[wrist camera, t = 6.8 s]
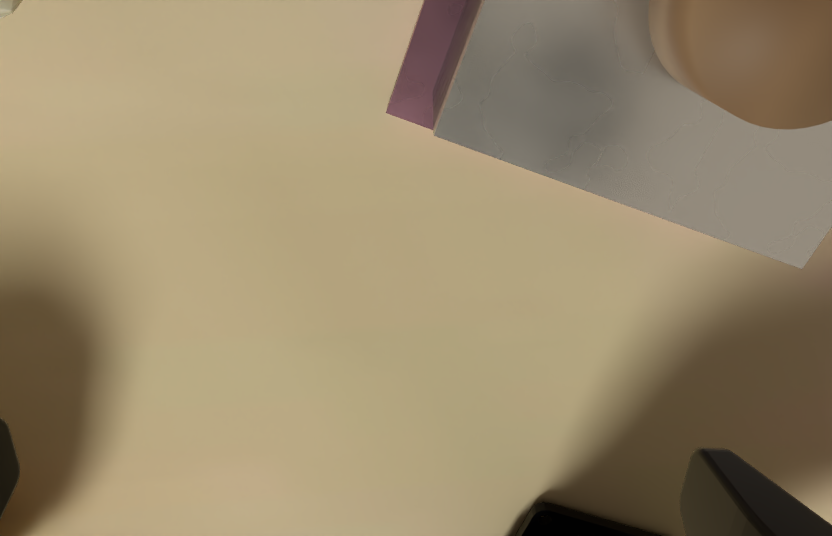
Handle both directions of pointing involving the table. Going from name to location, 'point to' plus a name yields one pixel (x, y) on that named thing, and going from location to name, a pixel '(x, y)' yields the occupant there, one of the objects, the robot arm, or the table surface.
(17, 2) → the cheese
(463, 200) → the table surface
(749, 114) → the plunger
